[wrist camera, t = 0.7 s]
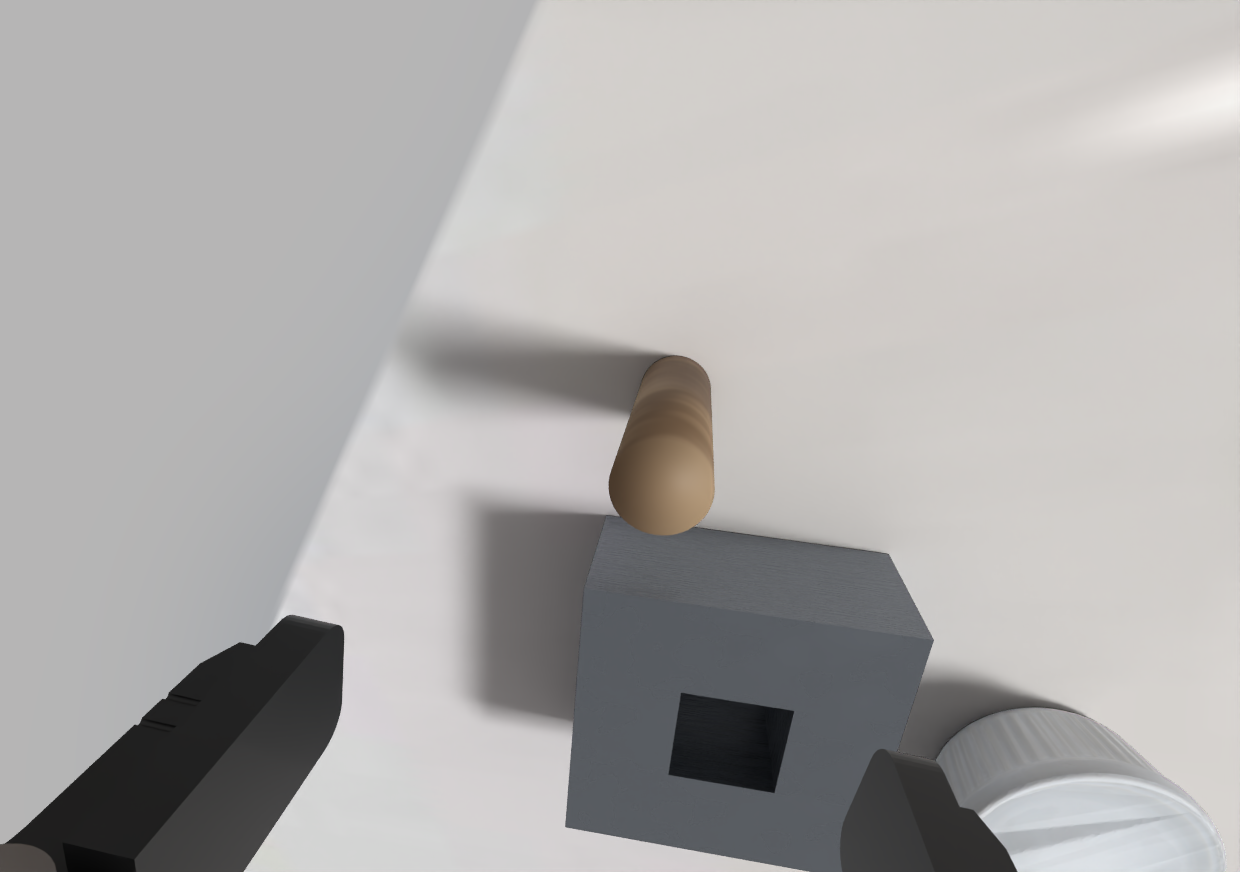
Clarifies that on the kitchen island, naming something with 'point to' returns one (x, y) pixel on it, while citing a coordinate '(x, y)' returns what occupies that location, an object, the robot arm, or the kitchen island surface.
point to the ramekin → (1076, 797)
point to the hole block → (737, 690)
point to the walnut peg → (666, 451)
